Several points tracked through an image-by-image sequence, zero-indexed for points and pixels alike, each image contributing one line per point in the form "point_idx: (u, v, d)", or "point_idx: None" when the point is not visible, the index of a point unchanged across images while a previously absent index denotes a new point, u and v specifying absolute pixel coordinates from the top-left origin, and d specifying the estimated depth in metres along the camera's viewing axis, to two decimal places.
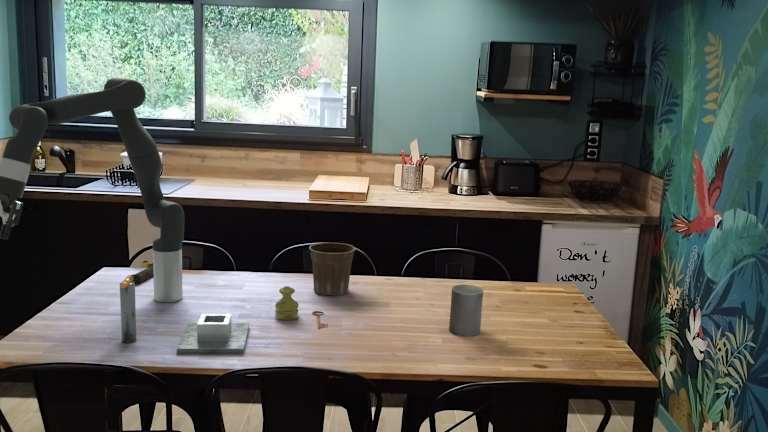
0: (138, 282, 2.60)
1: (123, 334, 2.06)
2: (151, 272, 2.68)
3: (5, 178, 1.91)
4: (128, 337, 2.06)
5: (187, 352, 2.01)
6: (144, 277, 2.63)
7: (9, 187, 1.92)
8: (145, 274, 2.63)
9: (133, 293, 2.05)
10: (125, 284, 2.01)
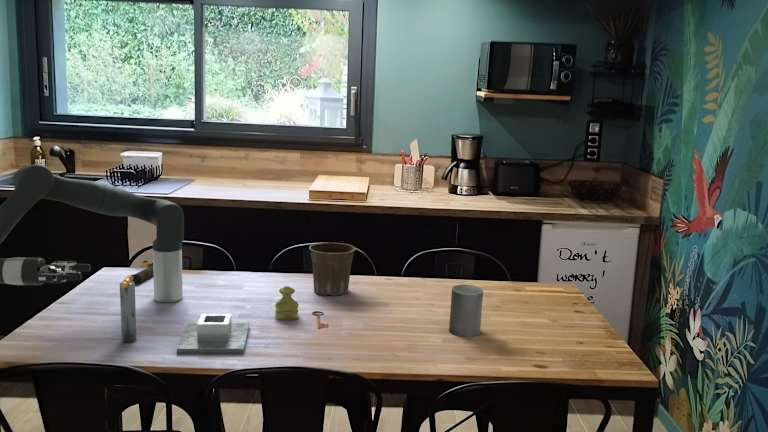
0: (138, 282, 2.60)
1: (123, 334, 2.06)
2: (151, 272, 2.68)
3: (24, 283, 2.00)
4: (128, 337, 2.06)
5: (187, 352, 2.01)
6: (144, 277, 2.63)
7: (30, 280, 1.99)
8: (145, 274, 2.63)
9: (133, 293, 2.05)
10: (125, 284, 2.01)
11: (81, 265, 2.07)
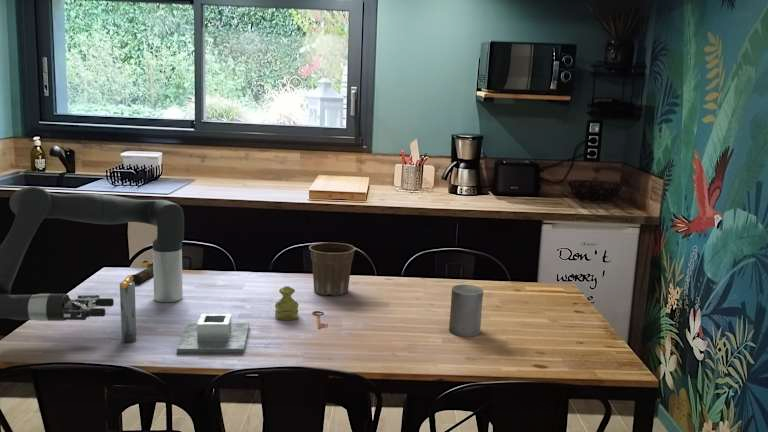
0: (139, 282, 2.60)
1: (123, 334, 2.06)
2: (151, 272, 2.68)
3: (49, 319, 2.03)
4: (128, 337, 2.06)
5: (187, 352, 2.01)
6: (144, 277, 2.63)
7: (55, 317, 2.02)
8: (145, 274, 2.63)
9: (133, 293, 2.05)
10: (125, 284, 2.01)
11: (104, 300, 2.09)
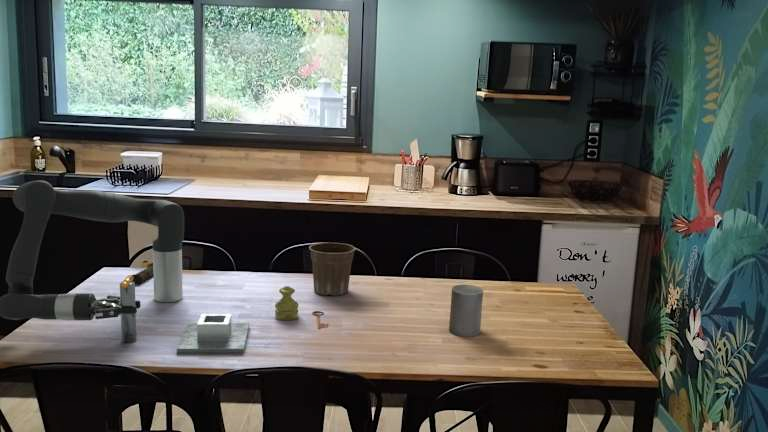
0: (139, 282, 2.60)
1: (123, 334, 2.06)
2: (151, 272, 2.68)
3: (75, 319, 2.03)
4: (128, 337, 2.06)
5: (187, 352, 2.01)
6: (145, 277, 2.63)
7: (82, 316, 2.02)
8: (146, 274, 2.63)
9: (133, 293, 2.05)
10: (125, 284, 2.01)
11: None
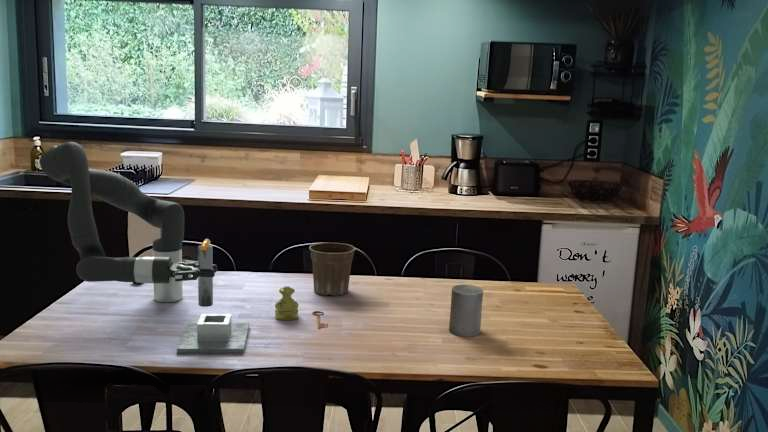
0: None
1: (200, 298, 2.06)
2: None
3: (154, 282, 2.03)
4: (205, 301, 2.06)
5: (187, 352, 2.01)
6: None
7: (161, 279, 2.02)
8: None
9: (211, 256, 2.05)
10: (204, 247, 2.01)
11: None
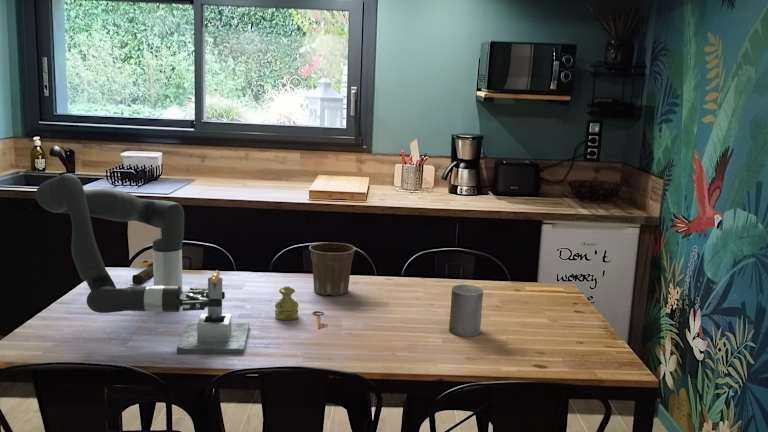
0: (140, 282, 2.60)
1: None
2: (151, 272, 2.68)
3: (164, 311, 2.05)
4: None
5: (187, 352, 2.01)
6: (145, 277, 2.63)
7: (170, 308, 2.04)
8: (146, 274, 2.64)
9: (221, 288, 2.07)
10: (215, 279, 2.03)
11: None
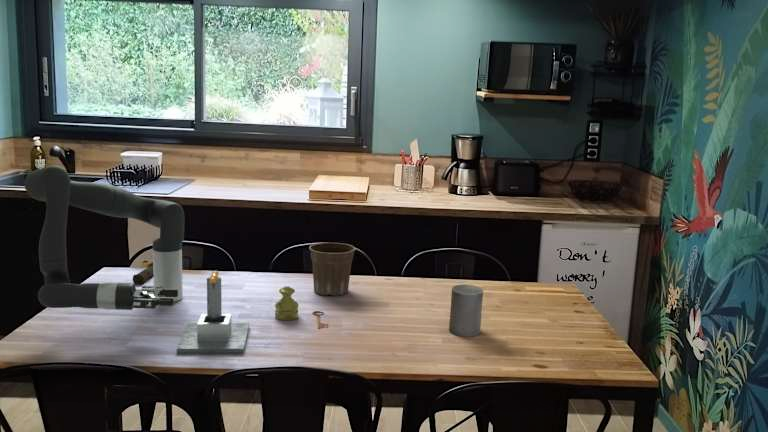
0: (141, 282, 2.60)
1: None
2: (151, 272, 2.68)
3: (117, 308, 2.04)
4: None
5: (187, 352, 2.01)
6: (146, 277, 2.63)
7: (123, 305, 2.03)
8: (147, 274, 2.63)
9: (220, 288, 2.07)
10: (214, 279, 2.03)
11: (169, 290, 2.11)
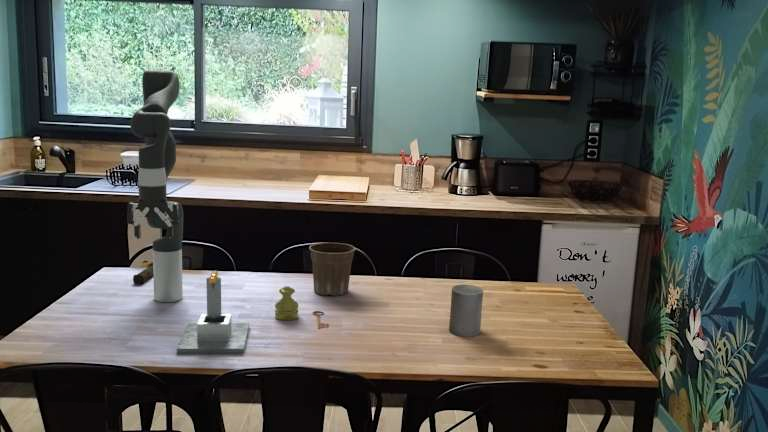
0: (141, 282, 2.60)
1: None
2: (151, 272, 2.68)
3: (159, 187, 2.06)
4: None
5: (187, 352, 2.01)
6: (146, 277, 2.63)
7: (163, 193, 2.07)
8: (147, 274, 2.64)
9: (219, 288, 2.07)
10: (213, 279, 2.03)
11: (140, 230, 2.11)
